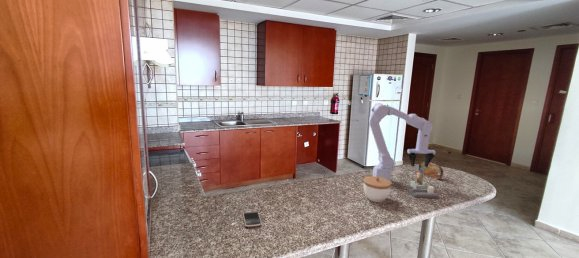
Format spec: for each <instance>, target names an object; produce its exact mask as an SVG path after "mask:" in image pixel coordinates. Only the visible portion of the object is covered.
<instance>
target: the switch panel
mask: <svg viewBox="0 0 579 258" xmlns="http://www.w3.org/2000/svg"><path fill="white" fill-rule="evenodd" d="M407 192H408V193H409V194H410V195H412V196H413V197H414V198H430V199H431V198H432V199H433V198H435V199H437V198H438V199H439V195H438V194H437V192H434V193H428V192H427V189H414V188H407Z"/></svg>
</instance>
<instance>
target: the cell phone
mask: <svg viewBox="0 0 579 258" xmlns="http://www.w3.org/2000/svg"><path fill="white" fill-rule="evenodd" d="M242 216H243V220H244V226H245V228H246V227H252V228H258V227H257V226H259V227H261V226H262V221H261V217H260V214H259V211H245V212H243V213H242Z"/></svg>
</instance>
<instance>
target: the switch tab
mask: <svg viewBox="0 0 579 258" xmlns="http://www.w3.org/2000/svg"><path fill="white" fill-rule="evenodd" d="M434 191H435V187H433V186H432V185H428V189H427V192H428V193H435V192H434Z"/></svg>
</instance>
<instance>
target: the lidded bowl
mask: <svg viewBox="0 0 579 258" xmlns="http://www.w3.org/2000/svg"><path fill="white" fill-rule="evenodd" d="M391 182H392V181H391ZM391 182H390V181H389V180H387V179H385V178H382V177H376V176H373V175H371V176H366V177H364V178H363V192H364V194H365V196H366V197H367V199H368V200H370V201H371V202H373V203H374V202H375V203H381V202H384V200H386V199H387V198H388V197H389V195H390V193H391V189H392V184H391Z"/></svg>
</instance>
